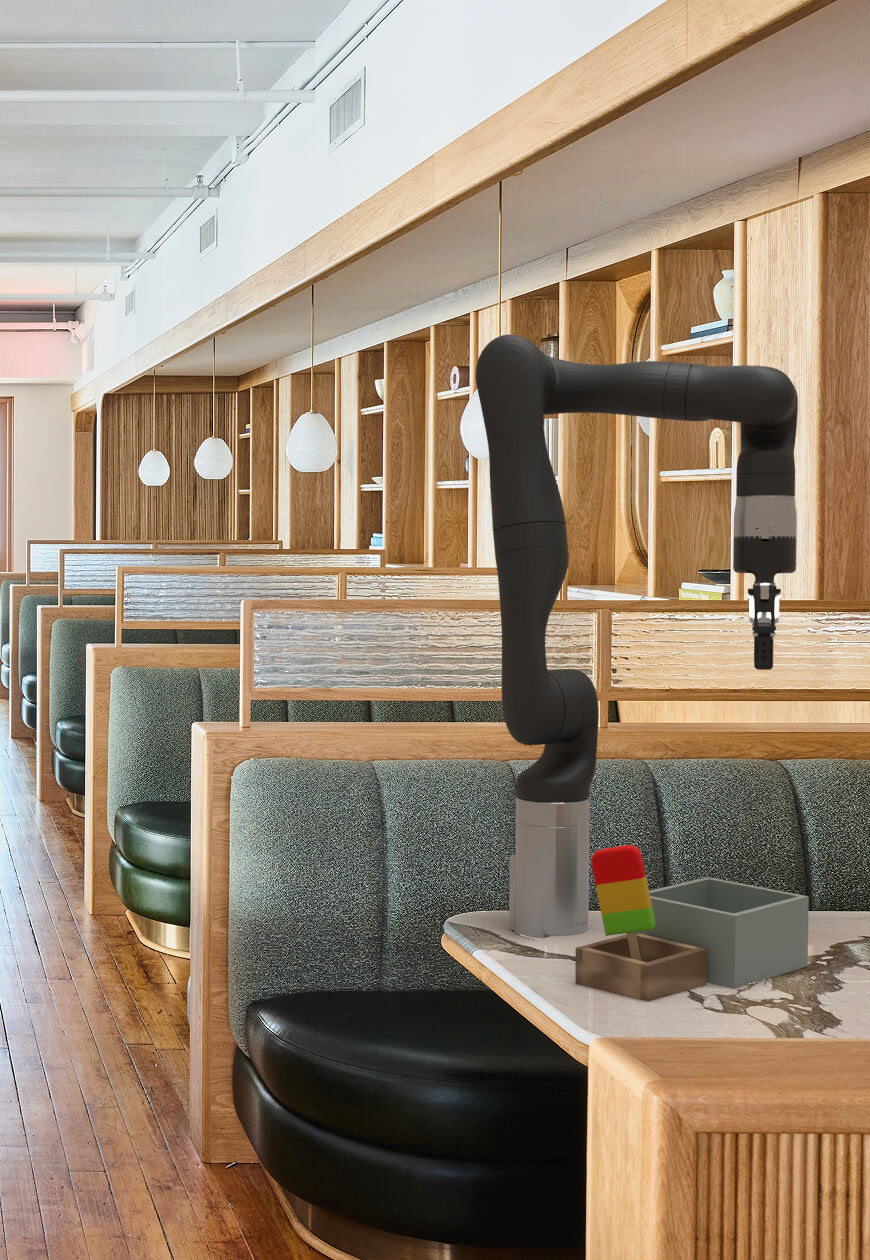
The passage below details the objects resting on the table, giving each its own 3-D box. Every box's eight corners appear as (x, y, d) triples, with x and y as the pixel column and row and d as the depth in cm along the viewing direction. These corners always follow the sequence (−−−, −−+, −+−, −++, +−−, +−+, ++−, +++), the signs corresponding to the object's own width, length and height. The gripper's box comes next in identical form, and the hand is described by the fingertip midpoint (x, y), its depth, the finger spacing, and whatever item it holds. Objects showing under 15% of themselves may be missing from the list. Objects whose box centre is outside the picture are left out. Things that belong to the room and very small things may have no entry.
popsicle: (587, 852, 161) (591, 849, 163) (615, 989, 161) (618, 984, 163) (636, 845, 159) (640, 842, 161) (664, 983, 159) (667, 978, 161)
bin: (632, 963, 169) (633, 894, 169) (707, 942, 179) (707, 877, 178) (734, 989, 159) (735, 916, 159) (807, 966, 169) (808, 896, 168)
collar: (575, 984, 161) (575, 947, 161) (634, 967, 168) (634, 932, 168) (647, 1004, 154) (648, 966, 153) (706, 985, 160) (706, 949, 160)
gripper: (734, 535, 188) (732, 662, 189) (732, 533, 174) (731, 670, 175) (794, 535, 187) (793, 664, 187) (798, 533, 173) (796, 671, 174)
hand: (763, 667), depth 181 cm, fingers open, 8 cm apart
